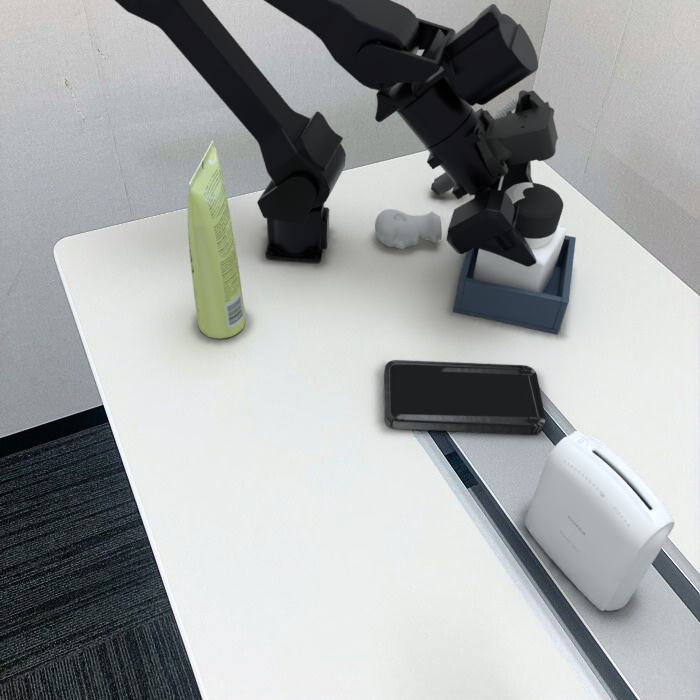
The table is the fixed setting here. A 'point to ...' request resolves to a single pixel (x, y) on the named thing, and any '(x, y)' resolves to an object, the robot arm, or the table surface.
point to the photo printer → (597, 520)
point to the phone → (462, 397)
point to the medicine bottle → (528, 240)
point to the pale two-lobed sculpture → (407, 228)
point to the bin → (517, 295)
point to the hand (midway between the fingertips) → (536, 240)
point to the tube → (213, 252)
